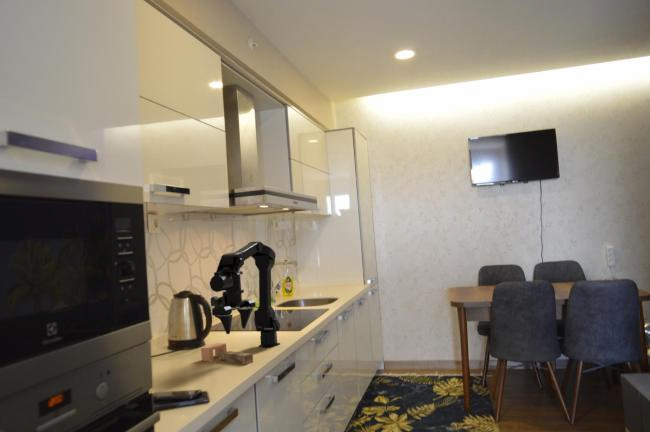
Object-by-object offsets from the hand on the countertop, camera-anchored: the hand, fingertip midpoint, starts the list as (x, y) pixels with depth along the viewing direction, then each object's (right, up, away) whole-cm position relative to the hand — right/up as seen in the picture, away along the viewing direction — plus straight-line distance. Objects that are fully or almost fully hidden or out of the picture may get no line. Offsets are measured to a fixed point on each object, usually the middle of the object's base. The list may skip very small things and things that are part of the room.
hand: (236, 331), depth 172 cm
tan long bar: (0, -11, +1) cm, 11 cm away
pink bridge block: (-10, -12, +7) cm, 17 cm away
